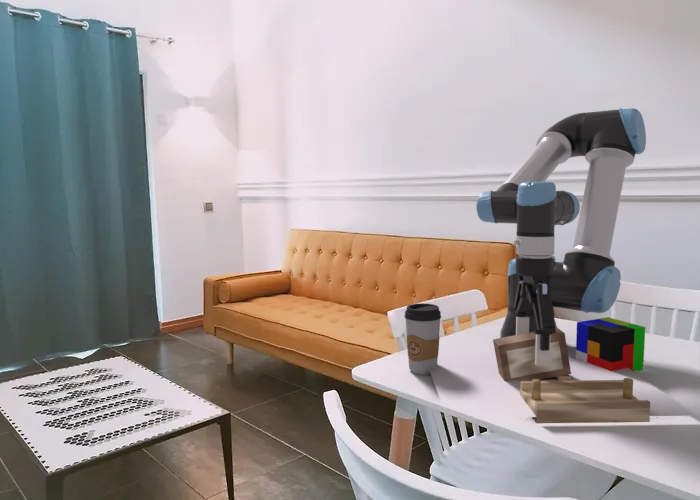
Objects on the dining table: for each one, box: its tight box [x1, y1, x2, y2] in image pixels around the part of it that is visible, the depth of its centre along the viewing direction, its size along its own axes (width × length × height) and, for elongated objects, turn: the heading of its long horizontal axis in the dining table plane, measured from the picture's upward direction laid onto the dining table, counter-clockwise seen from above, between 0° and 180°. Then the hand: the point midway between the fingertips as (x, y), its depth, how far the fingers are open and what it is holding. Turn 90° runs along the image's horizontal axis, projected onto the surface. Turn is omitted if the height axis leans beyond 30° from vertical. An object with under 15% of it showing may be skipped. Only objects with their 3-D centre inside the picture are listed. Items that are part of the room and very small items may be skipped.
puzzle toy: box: [575, 317, 646, 373], centre depth 124 cm, size 10×10×10 cm
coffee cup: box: [404, 302, 442, 376], centre depth 123 cm, size 8×8×15 cm
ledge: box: [519, 377, 651, 424], centre depth 101 cm, size 10×20×6 cm, turn 89°
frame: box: [492, 326, 572, 382], centre depth 115 cm, size 14×5×9 cm, turn 89°
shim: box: [555, 374, 572, 381], centre depth 116 cm, size 6×2×2 cm, turn 179°
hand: (531, 354), depth 115 cm, fingers open, 13 cm apart
